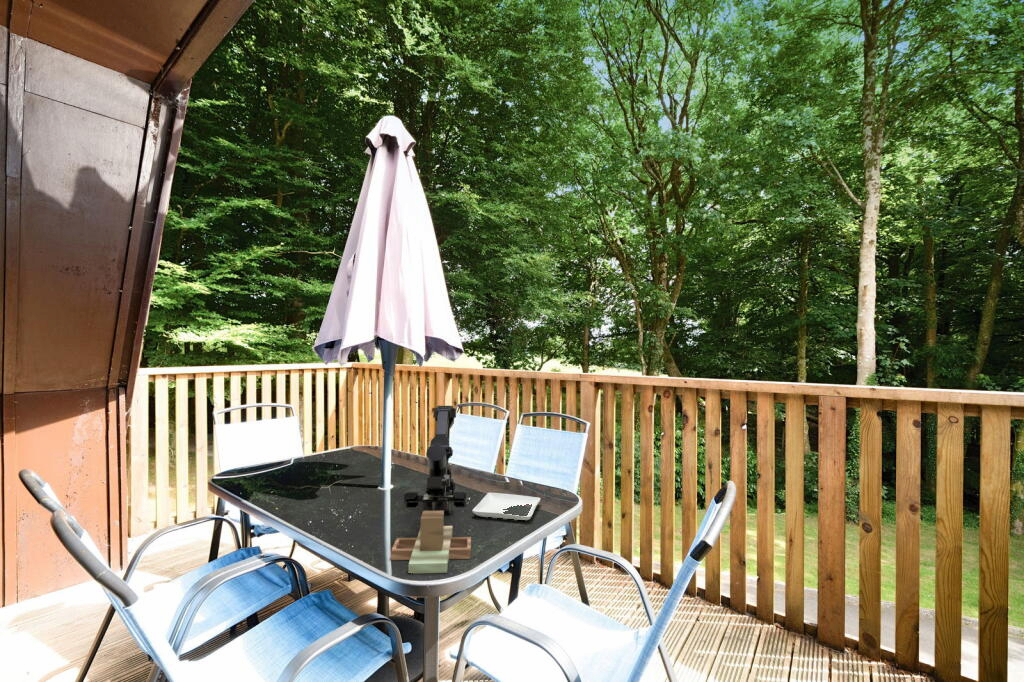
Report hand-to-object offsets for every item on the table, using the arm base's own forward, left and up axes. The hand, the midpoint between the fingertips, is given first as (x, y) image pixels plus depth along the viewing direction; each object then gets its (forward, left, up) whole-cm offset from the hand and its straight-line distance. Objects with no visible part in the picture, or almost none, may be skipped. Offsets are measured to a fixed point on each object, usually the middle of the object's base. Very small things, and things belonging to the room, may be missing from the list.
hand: (433, 526), depth 135 cm
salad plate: (-32, +24, -7) cm, 41 cm away
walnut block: (+3, 0, -4) cm, 5 cm away
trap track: (+1, 0, -7) cm, 7 cm away
